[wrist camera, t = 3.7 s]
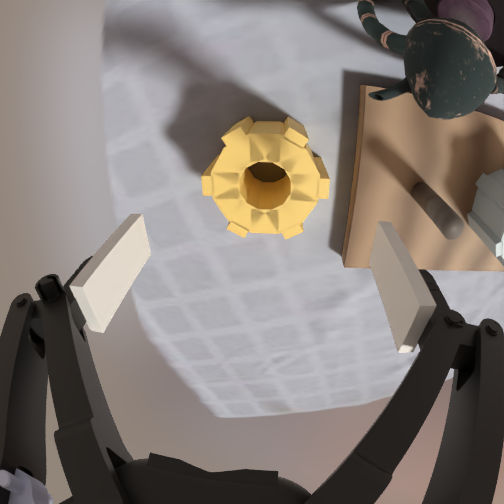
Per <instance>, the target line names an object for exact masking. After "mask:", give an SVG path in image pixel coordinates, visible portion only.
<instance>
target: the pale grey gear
mask: <svg viewBox="0 0 504 504" xmlns="http://www.w3.org/2000/svg"><path fill="white" fill-rule="evenodd" d="M475 185H476V186H477V187H478V190H477V192H476V196H475V200H474V204H473V207H472V211H471V212H469V213H467V216H468V223H469V226H470V228H471V229H472V230H473V231H474V232H475V233H476V234H477V235H478V237H479V238H480V239H481V240H482V241H483V242H484V244H485V245H486V246H487V247H488V248H489V250H490V251H491V252H492V253H493V255H494V256H495V257H496V258H497V259H498V260H499V262H500V263H501V264H502V266H503V267H504V168H503V169H502V168H501V169H499V170H497V171H495V172H493V173H491V174H489V175H486V174H485V173H483V174H482V175H481V176H480V178H479V179H478V180H477V182H476V183H475Z"/></svg>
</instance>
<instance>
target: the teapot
mask: <svg viewBox="0 0 504 504" xmlns="http://www.w3.org/2000/svg"><path fill="white" fill-rule="evenodd" d="M375 2H376V0H359V2H358V6H357V10H358V15H359V18H360V20H361V23H362V25H363V27H364V29H365V31H366V32H367V34H369V35H370V36H371V37H372V38H373V39H374V40H375V41H376V42H377V43H379V44H380V45H381V46H383V47H385V48H387V49H389V50H391V51H393V52H397V53H400V54H404V66H405V75H406V77H405V79H403V80H402V81H401V82H399V83H398V84H396V85H394V86H392V87H389V88H386V89H382V90H379V91H375V92H371V93H369V94H368V95H369V97H371V98H373V99H375V100H378V101H385V100H389V99H392V98H395V97H397V96H400V95H402V94H404V93H407V92H409V91H411V92H412V94H413V97H414V99H415V101H416V103H417V104H418V106H419V107H420V108H421V109H422V110H423V111H424V112H425V113H426V114H427V115H428V117H432V118H437V119H442V120H450V119H454V118H458V117H462V116H465V115H467V114H470V113H472V112H473V111H474V110H475V109H477V108H478V107H479V106H480V105H482V104H483V103H484V101H485V100H486V99H487V97H488V96H489V94H497V93H502V94H504V0H402V2H403V4H404V6H405V7H406V9H407V11H408V12H409V14H410V16H411V18H412V19H413V20H414V21H415V22H416V24H415V25H414V26H413V27H412V28H411V30H410V31H409V32H408V34H407V36H406V35H400V34H397V33H395V32H392V31H390V30H389V29H388V28H386V27H385V26H384V25H382V24H381V23H379V21H378V19H377V18H376V15H375V12H374V4H375ZM500 66H503V68H501V69H500V71H499V73H498V74H497V75H496V73H497V68H496V67H500Z"/></svg>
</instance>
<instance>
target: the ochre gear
mask: <svg viewBox="0 0 504 504" xmlns="http://www.w3.org/2000/svg"><path fill="white" fill-rule="evenodd" d="M222 140H223V141H224V143H225V145H226V146H225V147H224V149H223V150H222V152H221V154H220V155H217V156H216V158H215V159H214V160H213V162H212V163H211V164H210V165H209V167H208V168H207V169H206V171H205V172H204V173H203V175H202V176H201V178H202V189H203V196H213V200H214V201H215V203H216V204H217V205H218V207H219V208H220V210H221V211H222V213H223V214H224V215H225V217H226V218H227V220H228V221H229V224H228V227H227V229H228V230H230V231H232V232H234V233H236V234H238V235H239V236H241V237H243V238H244V237H245V236H246V234H247V233H248V231H249V232H251V233H273V234H279V233H282V234H283V236H284V238H285V239H288V238H290V237H292V236H295V235H297V234H299V233H301V232H303V221H304V220H305V219H306V217H307V216H308V215H309V213H310V212H311V210H312V209H313V208H314V206H315V205H316V204H317V202H318V198H319V199H328V194H329V183H330V178H329V176H328V173H327V171H326V168H325V166H324V164H323V161H322V159H321V157H314V156H313V153H312V152H311V150H310V148H309V146H308V144H307V141H308V140H309V138H308V135H307V133H306V130H305V128H304V125H302V124H300V123H299V122H297V121H295V120H294V119H292V118H290V117H287V119H286V120H285V122H284V123H283V122H280V121H256V122H253V120H252V119H251V117H250V116H248V117H246V118H245V119H243V120H241V121H239V122H238V123H236V124H234V125H233V126H232V127H231V128H230V129H229V130H228V131H227V132H226V133H225V134H224V136H223V137H222ZM257 162H273V163H274V164H276V165H278V166H280V167H281V168H283V169H284V170H285V171H286V175H285V176H284V178H282V179H280V180H278V181H276V182H262V181H260V180H259V179H257V178H255V177H254V176H253V175H252V173H251V171H250V170H249V168H248V167H249V166H251V165H253V164H255V163H257Z"/></svg>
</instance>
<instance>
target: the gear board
mask: <svg viewBox="0 0 504 504" xmlns="http://www.w3.org/2000/svg"><path fill="white" fill-rule="evenodd" d="M382 89H386V88H380V87H374V86H367V85H360V100H359V117H358V131H357V143H356V154H355V163H354V173H353V181H352V190H351V197H350V205H349V212H348V219H347V225H346V232H345V238H344V244H343V250H342V256H341V257H342V261H343V265H344V267H348V268H371V267H370V265H369V261H370V256H371V252H372V248H373V243H374V238H375V234H376V229H377V224H378V221H384V222H391V223H392V225H393V227H394V228H395V230H396V231H397V233H398V235H399V236H400V238H401V240H402V242H403V243H404V245H405V247H406V248H407V250H408V252H409V254H410V255H411V257H412V259H413V261H414V263H415V264H416V266H417V268H418V269H425V270H457V271H504V267H503V266H502V264H501V263H500V262H499V260H498V259H497V258H496V257H495V256H494V255H493V253H492V252H491V251H490V250H489V248H488V247H487V246H486V245H485V244H484V242H483V241H482V240H481V239H480V238H479V237H478V235H477V234H476V233H475V232H474V231H473V230H472V229H471V228H470V226H469V223H468V216H467V213H469V212H471V211H472V207H473V204H474V200H475V196H476V192H477V190H478V187H477V186H476V185H475V183H476V182H477V180H478V179H479V178H480V176H481V175H482V174H483V173H485V174H486V175H489V174H491V173H493V172H495V171H497V170H499V169H501V168H502V169H503V168H504V121H502V120H500V119H497V118H494V117H492V116H489V115H486V114H483V113H480V112H477V111H473V112H472V113H470V114H467V115H465V116H462V117H458V118H454V119H450V120H442V119H437V118H432V117H428V115H427V114H426V113H425V112H424V111H423V110H422V109H421V108H420V107H419V106H418V104H417V103H416V101H415V99H414V97H413V94H412V93H404V94H402V95H400V96H397V97H395V98H392V99H389V100H385V101H378V100H375V99H373V98H371V97H369V95H368V94H369V93H371V92H375V91H379V90H382Z"/></svg>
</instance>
